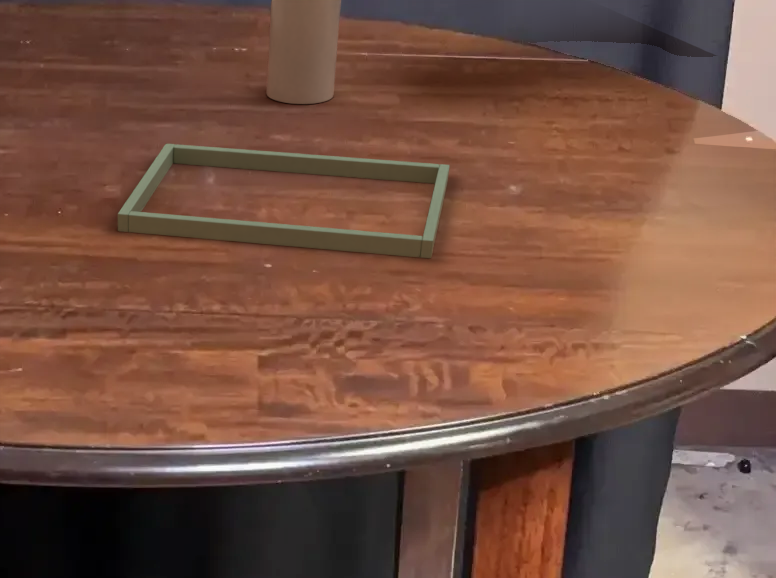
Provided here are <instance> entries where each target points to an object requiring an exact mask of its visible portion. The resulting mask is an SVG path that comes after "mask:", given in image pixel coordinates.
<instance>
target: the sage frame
mask: <svg viewBox="0 0 776 578" xmlns="http://www.w3.org/2000/svg"><path fill="white" fill-rule="evenodd" d="M173 164H175V165H177V164H178V165H191V166H203V167H214V168H215V167H217V168H231V169H241V170H255V171H267V172H268V171H269V172H280V173H292V174H307V175H318V176H319V175H321V176H334V177H343V178H358V179H371V180H384V181H397V182H409V183H422V184H424V183H425V184H434V187H433V192H432V196H431V199H430V204H429V208H428V212H427V217H426V221H425V224H424V230H423V233H422V235H416V234H406V233H394V232H382V231H381V232H380V231H370V230H369V231H368V230H357V229H347V228H334V227H323V226H312V225H311V226H310V225H299V224H290V223H289V224H288V223H278V222H277V223H276V222H265V221H252V220H242V219H241V220H239V219H228V218H218V217H217V218H215V217H206V216H205V217H204V216H194V215H182V214H170V213H169V214H168V213H157V212H147V211H146V212H145V211H143V210H144V208H145V207H146V205H147V204H148V202H149V201H150V199H151V197H152V196H153V194H154V193H155V191H156V190H157V188H158V187H159V185H160V184H161V182H162V181H163V179H164V178H165V176H166V175H167V173H168V172H169V170H170V169H171V167H172V166H173ZM450 167H451V166H450V164H445V163H443V164H442V163H432V162H431V163H429V162H417V161H406V160H405V161H404V160H390V159H376V158H364V157H350V156H338V155H337V156H336V155H322V154H310V153H309V154H308V153H298V152H286V151H285V152H283V151H272V150H271V151H270V150H259V149H258V150H256V149H244V148H232V147H231V148H230V147H218V146H217V147H216V146H203V145H202V146H201V145H192V144H191V145H190V144H177V143H165V144H164V145H163V147H162V148H161V150H160V151H159V153H158V154H157V155H156V157H155V159H154V160H153V161H152V162H151V164H150V165H149V167H148V169H147V170H146V171H145V172H144V175H143V176H142V178H141V179H140V181H139V182H138V183H137V185H136V186H135V188H134V189H133V191H132V192H131V194H130V195H129V197H128V198H127V200H125V202H124V204H123V205H122V207H121V209H120V210H119V211H118V212H117V232H123V233H124V232H125V233H135V234H147V235H159V236H169V237H171V236H172V237H181V238H193V239H203V240H204V239H205V240H215V241H216V240H217V241H225V242H226V241H227V242H238V243H250V244H261V245H272V246H284V247H296V248H308V249H316V250H317V249H319V250H327V251H328V250H329V251H340V252H352V253H353V252H354V253H363V254H376V255H385V256H386V255H387V256H397V257H408V258H409V257H410V258H421V259H431V258H432V257H433V252H434V249H435V248H434V247H435V242H436V239H437V233H438V229H439V224H440V219H441V214H442V210H443V205H444V201H445V196H446V191H447V188H448V183H449V176H450V175H449V174H450V169H451V168H450Z"/></svg>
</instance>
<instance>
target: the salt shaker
mask: <svg viewBox="0 0 776 578" xmlns="http://www.w3.org/2000/svg"><path fill="white" fill-rule="evenodd" d="M341 10H342V0H270V10H269V11H270V12H269V13H270V14H269V32H268V33H269V34H268V48H267V49H268V50H267V51H268V52H267V54H268V55H267V68H266V69H267V70H266V89H265V94H266V96H267V97H268V98H269V99H271V100H273V101H276V102H280V103H284V104H292V105H313V104H320V103H324V102H327V101H330V100H331V99H333V98H334V95H335V86H336V74H337V62H338V61H337V60H338V48H339V34H340V22H341Z"/></svg>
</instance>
